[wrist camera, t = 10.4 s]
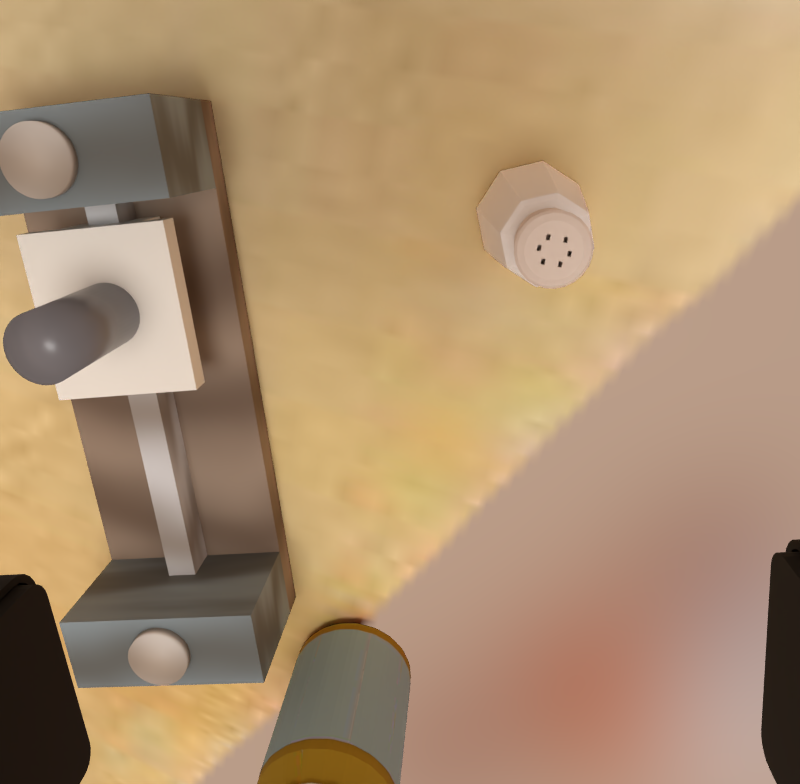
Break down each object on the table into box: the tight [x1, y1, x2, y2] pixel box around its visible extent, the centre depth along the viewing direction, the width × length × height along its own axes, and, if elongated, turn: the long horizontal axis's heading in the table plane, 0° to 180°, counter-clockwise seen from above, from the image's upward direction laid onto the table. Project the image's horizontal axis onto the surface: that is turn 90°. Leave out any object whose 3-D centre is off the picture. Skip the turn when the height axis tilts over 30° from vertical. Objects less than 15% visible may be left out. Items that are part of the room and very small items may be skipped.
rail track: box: [0, 93, 296, 688], centre depth 38 cm, size 28×10×8 cm, turn 6°
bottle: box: [257, 623, 411, 784], centre depth 40 cm, size 7×7×15 cm
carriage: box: [3, 216, 205, 400], centre depth 34 cm, size 8×7×9 cm
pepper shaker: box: [476, 161, 594, 289], centre depth 32 cm, size 5×5×11 cm
